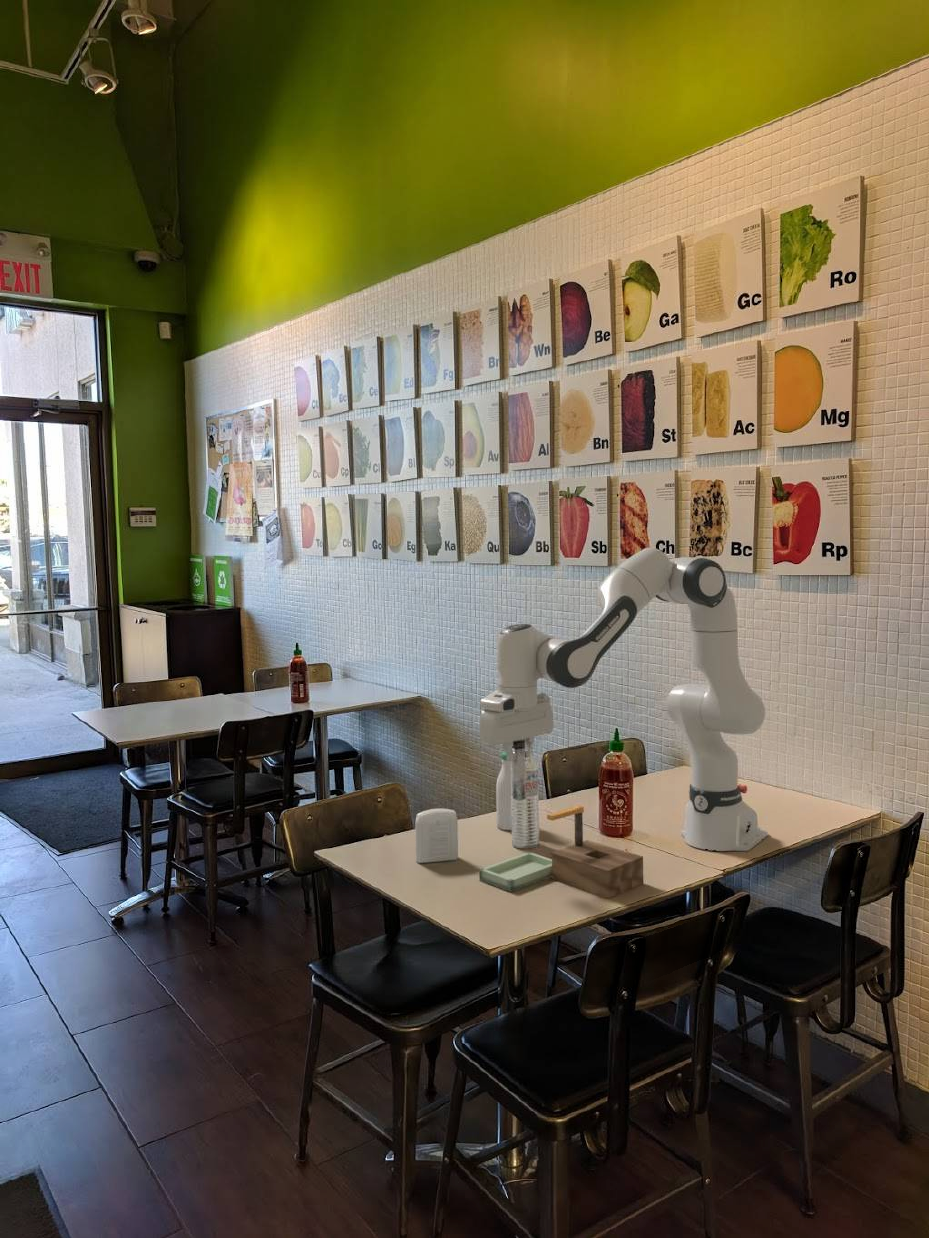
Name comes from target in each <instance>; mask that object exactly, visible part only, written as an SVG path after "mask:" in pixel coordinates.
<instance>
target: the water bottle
mask: <svg viewBox="0 0 929 1238" xmlns="http://www.w3.org/2000/svg"><path fill="white" fill-rule="evenodd" d="M538 765H539V764H538V761H537V759H536V758H535V757H534V756H533V755H532V754H531V753H530V757H527V758H525V766H526V799H523V800H515V799H513V788H512V761H511V763H510V769H511V819H512V820H511V822H512V824H511V825H512V831H511V844H512V846H513V847H515V848H516V849H519V850H532V849H535V848H537V847H538V846H539V844H540V815H539V814H540V811H539V809H540V808H539V807H540V805H539V804H540V803H539V786H538V785H539V784H538V783H539V779H538V777H539V776H538V769H539V766H538Z"/></svg>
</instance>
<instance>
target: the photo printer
mask: <svg viewBox="0 0 929 1238" xmlns="http://www.w3.org/2000/svg"><path fill="white" fill-rule="evenodd" d="M458 822H459V821H458V816H457V813H456V811H455V810H453V809H448V808H431V809H426V810H423V811H420V812H419V813H417V814H416V817H415V824H414V825H415V826H414V827H415V861H416V862H417V863H419V864H423V863H425V864H426V863H435V862H443V861H447V862H448V861H455V860H458V858H459V841H458V840H459V837H458V835H459V834H458V833H459V832H458V829H459V827H458V824H459V823H458Z"/></svg>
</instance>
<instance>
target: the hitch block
mask: <svg viewBox="0 0 929 1238" xmlns="http://www.w3.org/2000/svg"><path fill="white" fill-rule="evenodd" d="M583 824H584V822H583V813H577V814H574V844H572V845H569V846H566V847H563V848H561V849H558V850H555V851H552V852H551V859H552V877H551V878H552V880H555V881H558V882H560V883H562V884H567V885H569V886H571V887H574V888H578V889H580V888H581V889H580V890H583V889H584V891H586V892H590V893H592V894H594V895H598V896H600V897H604V898H607V899H611V898H613V897H616V896H617V895H619V894H621V893H624V892H627V891H629V890H631V889H634V888H635V887H637V886H641V885H642V884H644V856H642V855H640V854H636V853H633V852H629V851H626V850H622V849H620V848H619V849H618V848H615V847H613V846H612V847H611V846H609V845H605V844H603V843H600V842H599V843H598V842H596V841H595V842H594V841H593V840H589V839H587V840H584V837H583V836H584V835H583V834H584V831H583V830H584V827H583Z"/></svg>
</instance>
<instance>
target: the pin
mask: <svg viewBox="0 0 929 1238" xmlns="http://www.w3.org/2000/svg"><path fill="white" fill-rule="evenodd" d="M511 747H512V750H513V752H515V753H516V754H517V756H516V758H517V759H516V760H515V761H512V788H513V799H515V800H523V799H526V766H525V740H523V739H522V740H517V741H513V746H511Z"/></svg>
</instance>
